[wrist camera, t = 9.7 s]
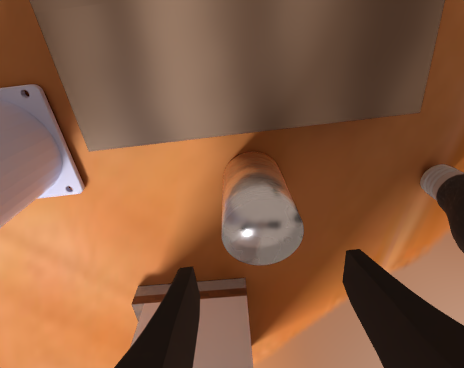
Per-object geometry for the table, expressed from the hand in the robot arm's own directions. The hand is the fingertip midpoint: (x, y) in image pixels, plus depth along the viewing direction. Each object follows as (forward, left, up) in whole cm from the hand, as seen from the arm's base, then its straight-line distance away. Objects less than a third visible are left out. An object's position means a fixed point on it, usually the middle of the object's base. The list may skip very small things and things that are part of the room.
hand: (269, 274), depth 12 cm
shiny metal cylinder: (0, 0, -9) cm, 9 cm away
